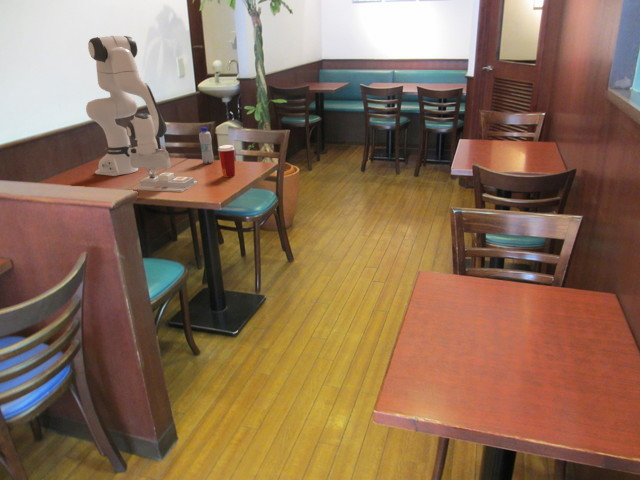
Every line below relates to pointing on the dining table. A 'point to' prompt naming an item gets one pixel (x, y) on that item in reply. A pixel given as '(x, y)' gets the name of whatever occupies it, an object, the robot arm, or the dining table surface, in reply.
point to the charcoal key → (151, 178)
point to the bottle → (206, 145)
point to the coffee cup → (227, 160)
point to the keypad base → (166, 185)
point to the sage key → (166, 177)
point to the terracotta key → (180, 179)
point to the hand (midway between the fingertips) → (153, 177)
